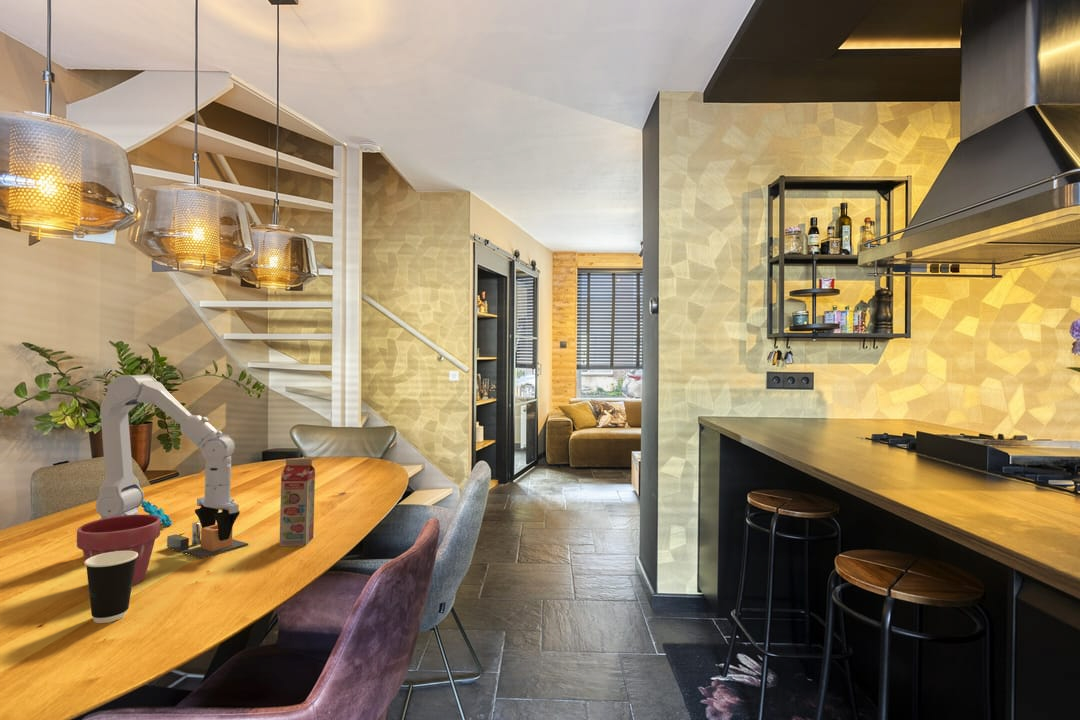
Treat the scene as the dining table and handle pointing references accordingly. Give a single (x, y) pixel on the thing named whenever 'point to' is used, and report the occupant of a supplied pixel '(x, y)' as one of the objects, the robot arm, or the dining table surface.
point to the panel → (205, 553)
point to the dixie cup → (110, 584)
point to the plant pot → (121, 538)
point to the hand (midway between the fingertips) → (216, 537)
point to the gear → (156, 512)
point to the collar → (213, 539)
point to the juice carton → (297, 503)
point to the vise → (184, 539)
